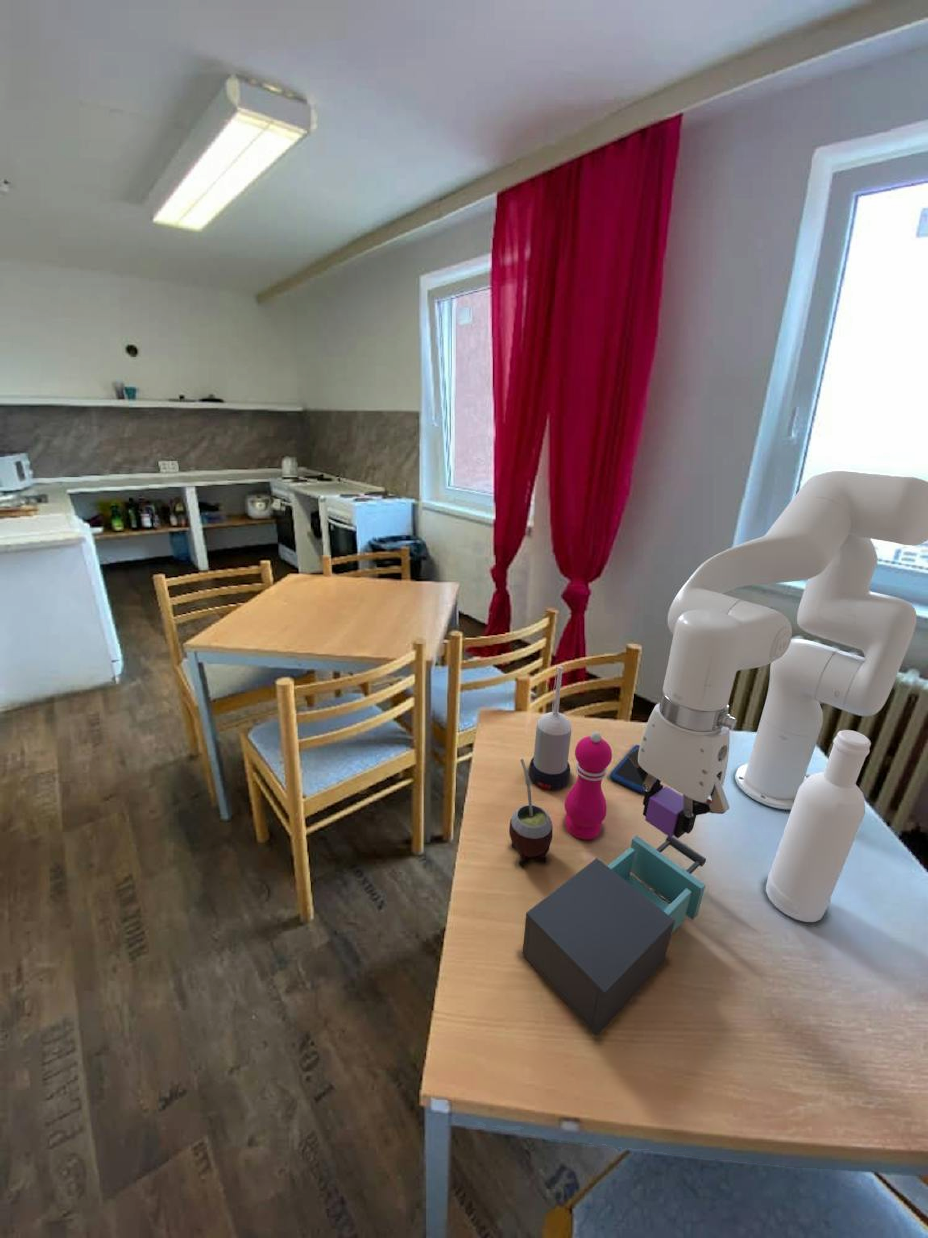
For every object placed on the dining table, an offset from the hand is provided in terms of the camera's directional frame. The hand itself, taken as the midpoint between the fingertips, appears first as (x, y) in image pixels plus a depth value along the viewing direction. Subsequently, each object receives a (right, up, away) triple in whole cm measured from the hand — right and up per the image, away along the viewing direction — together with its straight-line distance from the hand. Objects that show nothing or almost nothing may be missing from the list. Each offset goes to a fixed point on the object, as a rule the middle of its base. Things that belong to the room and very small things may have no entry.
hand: (666, 821), depth 71 cm
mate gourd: (-17, -11, +16) cm, 26 cm away
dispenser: (-10, -18, -1) cm, 21 cm away
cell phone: (+8, -3, +36) cm, 37 cm away
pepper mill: (-7, -9, +21) cm, 24 cm away
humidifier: (-11, -4, +33) cm, 35 cm away
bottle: (+23, -15, +8) cm, 29 cm away
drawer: (0, -15, +6) cm, 16 cm away
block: (0, 0, 0) cm, 0 cm away
